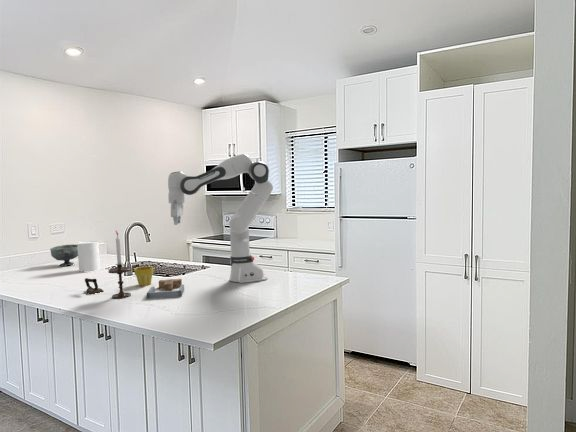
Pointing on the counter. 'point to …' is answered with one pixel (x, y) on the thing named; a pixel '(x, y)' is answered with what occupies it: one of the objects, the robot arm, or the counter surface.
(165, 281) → the t block
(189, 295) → the counter surface
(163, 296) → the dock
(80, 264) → the canister
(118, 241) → the candlestick
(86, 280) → the clothes iron
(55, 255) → the bowl
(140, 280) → the plant pot
